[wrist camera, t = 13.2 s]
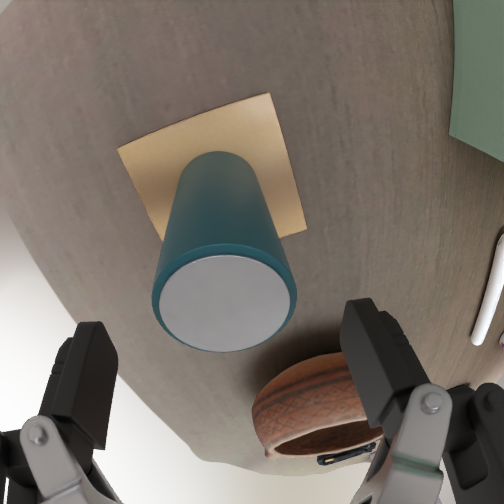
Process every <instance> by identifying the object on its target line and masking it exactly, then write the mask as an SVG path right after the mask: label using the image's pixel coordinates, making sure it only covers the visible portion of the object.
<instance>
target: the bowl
mask: <svg viewBox="0 0 504 504" xmlns="http://www.w3.org/2000/svg"><path fill="white" fill-rule="evenodd" d="M252 418H253V424H254V428H255V431H256V434H257V436H258V438H259V440H260V442H261V444H262V445H263V447H264V448H265V456H266V457H267V458H268V459H271V460H273V459H277V458H285V457H291V458H301V457H312V456H319V455H323V454H333V453H339V452H342V451H346V450H350V449H354V448H357V447H360V446H363V445H366V444H369V443H371V442H374V441H376V440H378V439H380V438H382V436H383V434H384V432H383V429H382V426H379V427H375V428H372V429H371V428H370V426H369V423H368V420H367V417H366V414H365V411H364V409H363V406H362V403H361V400H360V398H359V395H358V392H357V389H356V387H355V384H354V381H353V378H352V376H351V373H350V370H349V368H348V365H347V362H346V360H345V357H344V355H343V352H338V353H332V354H326V355H319V356H316V357H313V358H310V359H307V360H304V361H301V362H299V363H297V364H295V365H293V366H291V367H289V368H288V369H286V370H284V371H283V372H281V373H280V374H279V375H278V376H276V377H275V378H274V379H272V380H271V381H270V382H269V383H268V384H267V385H266V386H265V387H264V388H263V389H262V390H261V391H260V392H259V393H258V395H257V397H256V399H255V401H254V404H253V407H252Z"/></svg>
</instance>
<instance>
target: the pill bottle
mask: <svg viewBox="0 0 504 504" xmlns="http://www.w3.org/2000/svg"><path fill="white" fill-rule="evenodd" d="M499 343H500V345H501V347H502V348H503V350H504V333H503V334H502V336H501V338H500V341H499Z"/></svg>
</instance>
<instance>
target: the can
mask: <svg viewBox="0 0 504 504" xmlns="http://www.w3.org/2000/svg"><path fill="white" fill-rule="evenodd" d="M296 301H297V290H296V284H295V281H294V278H293V276H292V273H291V270H290V267H289V264H288V261H287V259H286V256H285V253H284V250H283V247H282V245H281V242H280V239H279V236H278V233H277V231H276V228H275V225H274V222H273V220H272V217H271V214H270V211H269V209H268V206H267V203H266V201H265V198H264V195H263V193H262V190H261V187H260V185H259V182H258V179H257V177H256V174H255V172H254V170H253V168H252V167H251V166H250V165H249V163H248V162H246V161H245V160H244V159H243V158H241V157H240V156H238V155H236V154H233V153H230V152H225V151H213V152H208V153H204V154H202V155H200V156H198V157H196V158H195V159H193V160H192V161H191V162H190V163H189V164H188V165H187V166H186V167H185V169H184V170H183V172H182V174H181V176H180V179H179V182H178V186H177V189H176V193H175V197H174V200H173V204H172V208H171V212H170V216H169V220H168V224H167V228H166V232H165V236H164V240H163V244H162V249H161V253H160V257H159V262H158V266H157V271H156V275H155V280H154V285H153V290H152V307H153V311H154V314H155V316H156V318H157V320H158V322H159V323H160V325H161V326H162V327H163V329H164V330H165V331H166V332H167V333H168V334H169V335H170V336H172V337H173V338H175V339H176V340H178V341H179V342H181V343H183V344H185V345H187V346H189V347H192V348H195V349H199V350H203V351H209V352H235V351H241V350H245V349H249V348H252V347H255V346H257V345H260V344H262V343H264V342H266V341H268V340H269V339H271V338H272V337H274V336H275V335H276V334H277V333H279V332H280V331H281V330H282V329H283V328H284V327H285V325H286V324H287V323H288V321H289V320H290V318H291V316H292V314H293V312H294V309H295V306H296Z"/></svg>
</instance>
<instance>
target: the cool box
mask: <svg viewBox="0 0 504 504" xmlns="http://www.w3.org/2000/svg"><path fill="white" fill-rule="evenodd" d="M453 10H454V81H453V96H452V108H451V118H450V127H449V135H450V136H452V137H454V138H456V139H459V140H461V141H463V142H465V143H467V144H469V145H471V146H473V147H475V148H477V149H479V150H481V151H483V152H485V153H487V154H489V155H491V156H493V157H494V158H496V159H498V160H500V161H502V162H503V163H504V0H453Z"/></svg>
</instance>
